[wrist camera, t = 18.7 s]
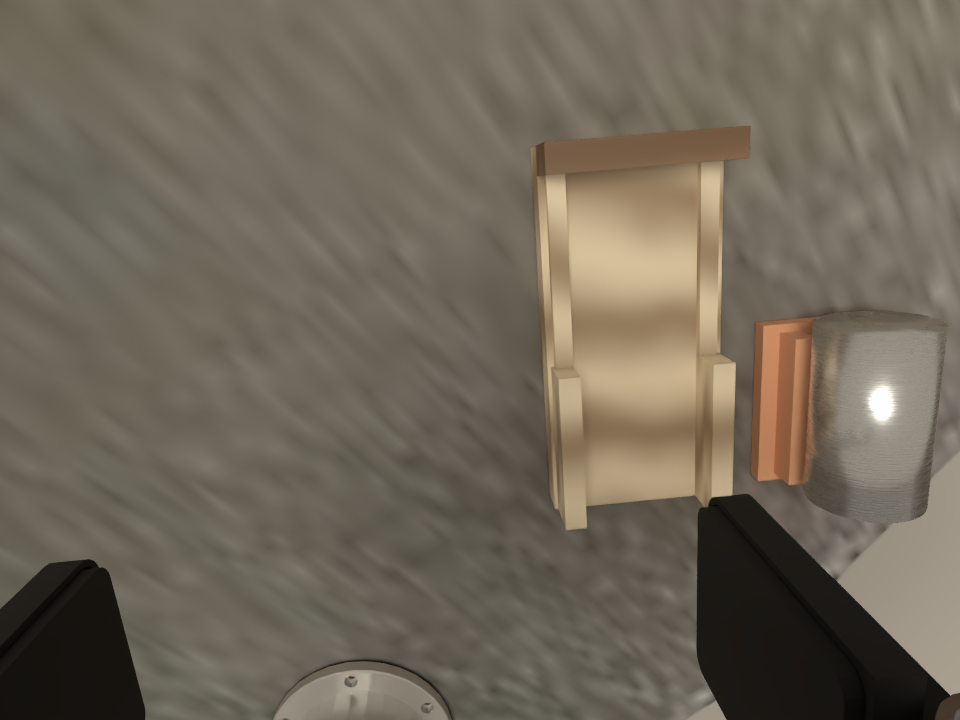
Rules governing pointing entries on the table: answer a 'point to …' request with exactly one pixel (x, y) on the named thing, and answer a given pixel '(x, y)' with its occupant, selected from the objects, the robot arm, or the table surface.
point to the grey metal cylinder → (873, 413)
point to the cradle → (781, 399)
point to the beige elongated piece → (634, 317)
